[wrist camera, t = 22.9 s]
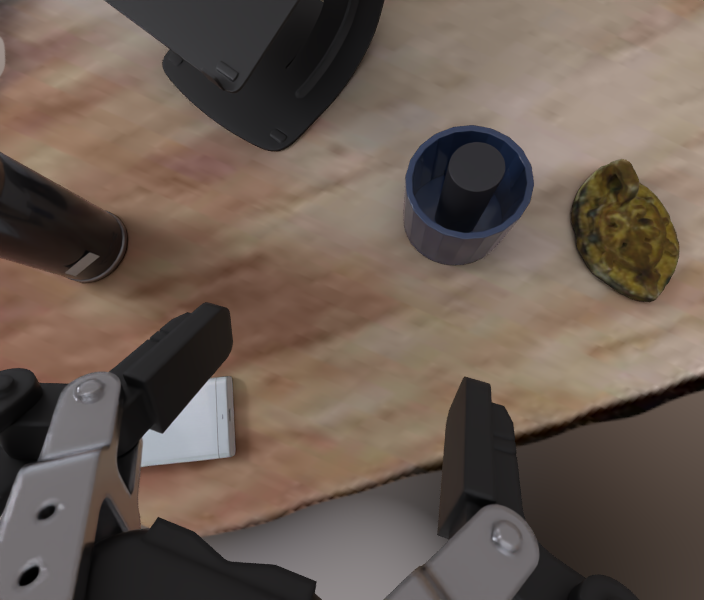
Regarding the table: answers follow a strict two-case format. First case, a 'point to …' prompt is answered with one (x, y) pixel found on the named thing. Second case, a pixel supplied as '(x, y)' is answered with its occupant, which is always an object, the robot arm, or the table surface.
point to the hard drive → (196, 429)
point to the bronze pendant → (625, 232)
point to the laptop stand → (259, 57)
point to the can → (427, 187)
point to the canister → (469, 186)
